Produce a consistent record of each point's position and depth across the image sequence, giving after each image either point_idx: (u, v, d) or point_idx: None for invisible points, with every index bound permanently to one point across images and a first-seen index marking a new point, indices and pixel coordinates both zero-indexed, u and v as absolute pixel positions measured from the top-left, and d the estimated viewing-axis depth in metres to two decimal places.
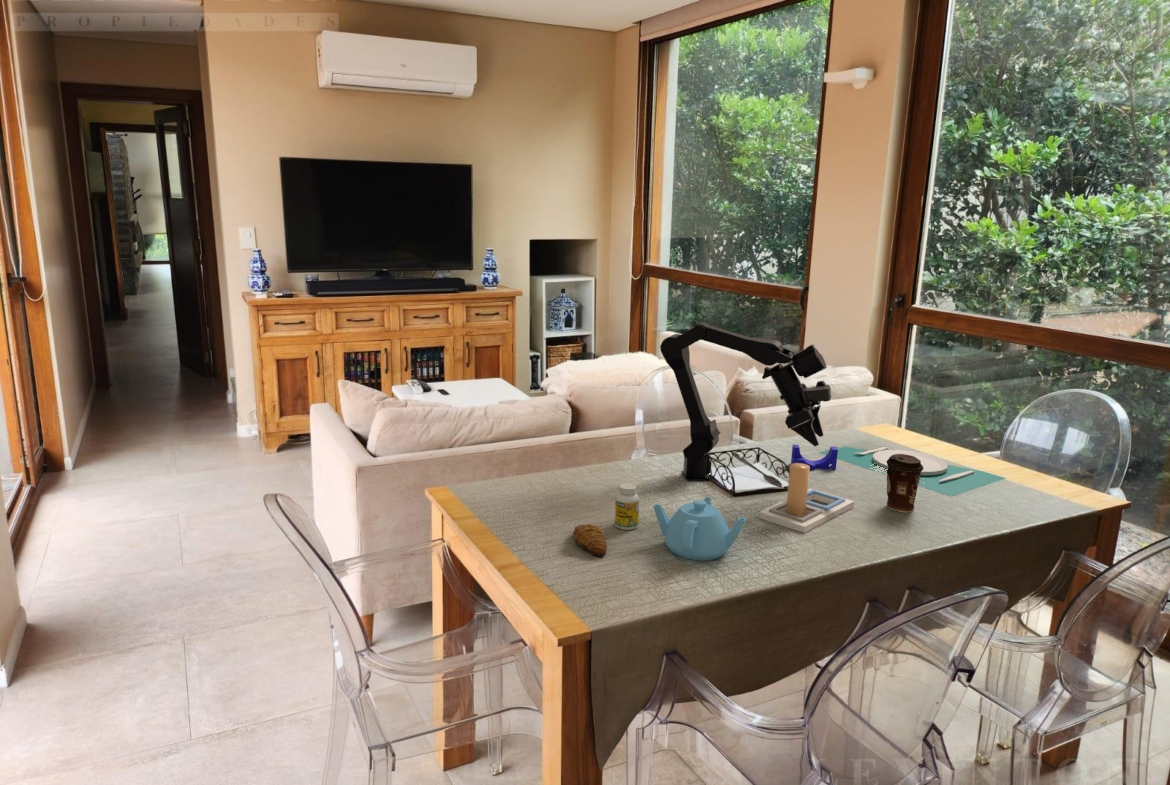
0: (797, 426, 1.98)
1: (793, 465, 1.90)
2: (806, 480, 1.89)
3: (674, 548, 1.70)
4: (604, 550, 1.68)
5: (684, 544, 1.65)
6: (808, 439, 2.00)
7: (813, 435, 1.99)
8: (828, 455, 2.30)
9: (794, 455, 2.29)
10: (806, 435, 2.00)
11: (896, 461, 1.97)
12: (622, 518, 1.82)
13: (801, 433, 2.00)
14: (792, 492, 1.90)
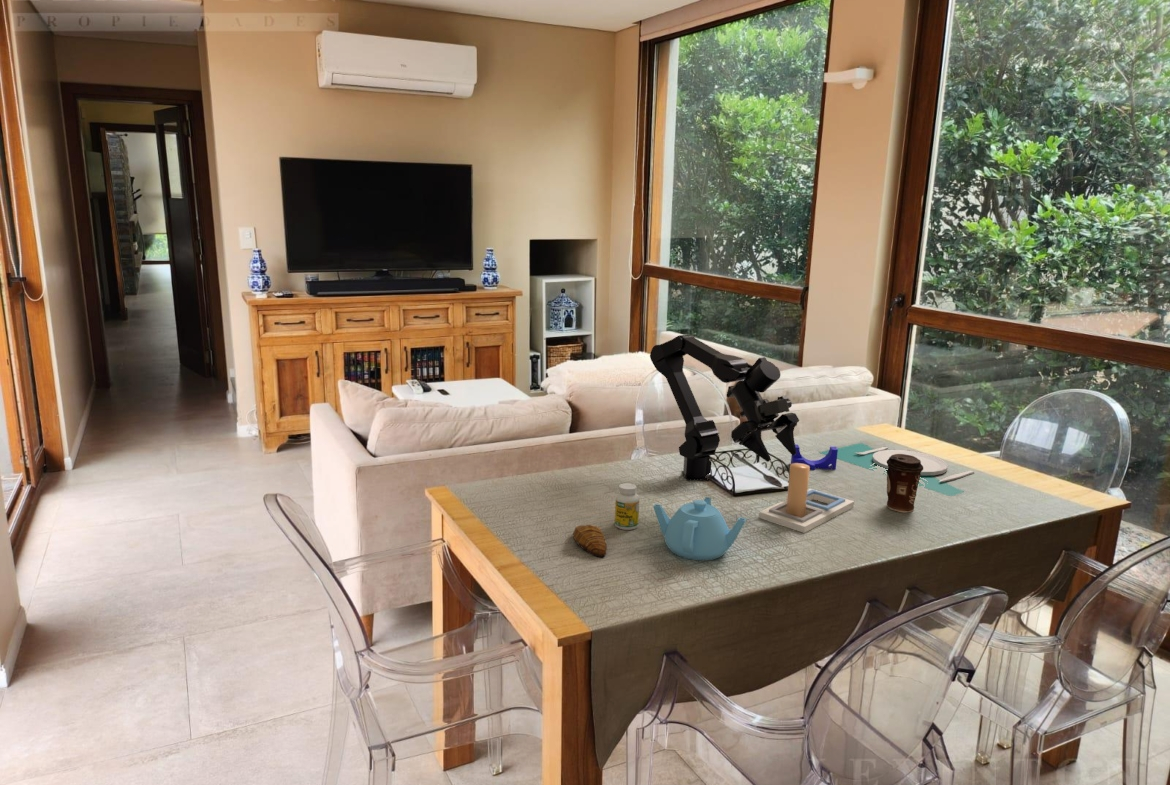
0: (742, 440, 1.93)
1: (793, 465, 1.90)
2: (806, 480, 1.89)
3: (674, 548, 1.70)
4: (604, 551, 1.68)
5: (684, 544, 1.65)
6: (759, 454, 1.92)
7: (762, 449, 1.91)
8: (828, 455, 2.30)
9: (794, 455, 2.30)
10: (756, 450, 1.93)
11: (896, 461, 1.97)
12: (622, 518, 1.82)
13: (751, 448, 1.93)
14: (792, 492, 1.90)
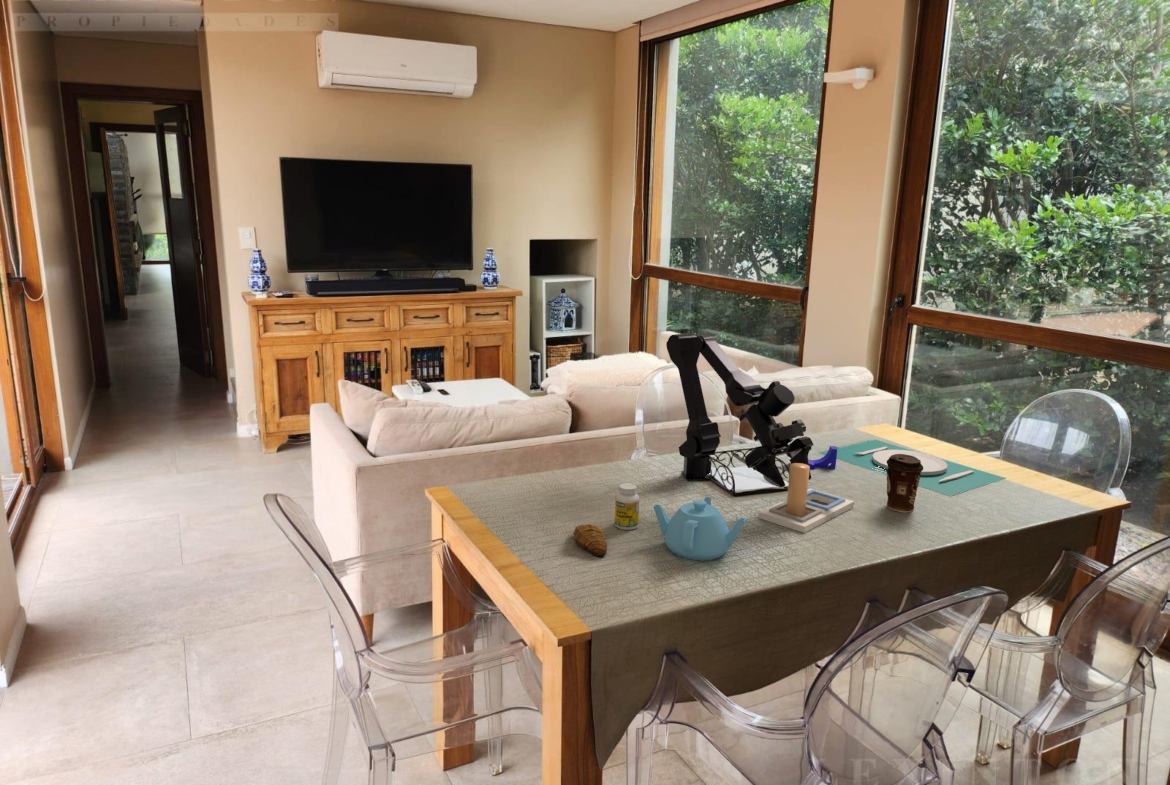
0: (756, 465, 1.90)
1: (793, 465, 1.90)
2: (806, 480, 1.89)
3: (674, 548, 1.70)
4: (604, 550, 1.68)
5: (684, 544, 1.65)
6: (773, 479, 1.90)
7: (776, 475, 1.89)
8: (827, 455, 2.31)
9: None
10: (771, 475, 1.90)
11: (896, 461, 1.97)
12: (623, 518, 1.82)
13: (765, 473, 1.90)
14: (792, 492, 1.90)
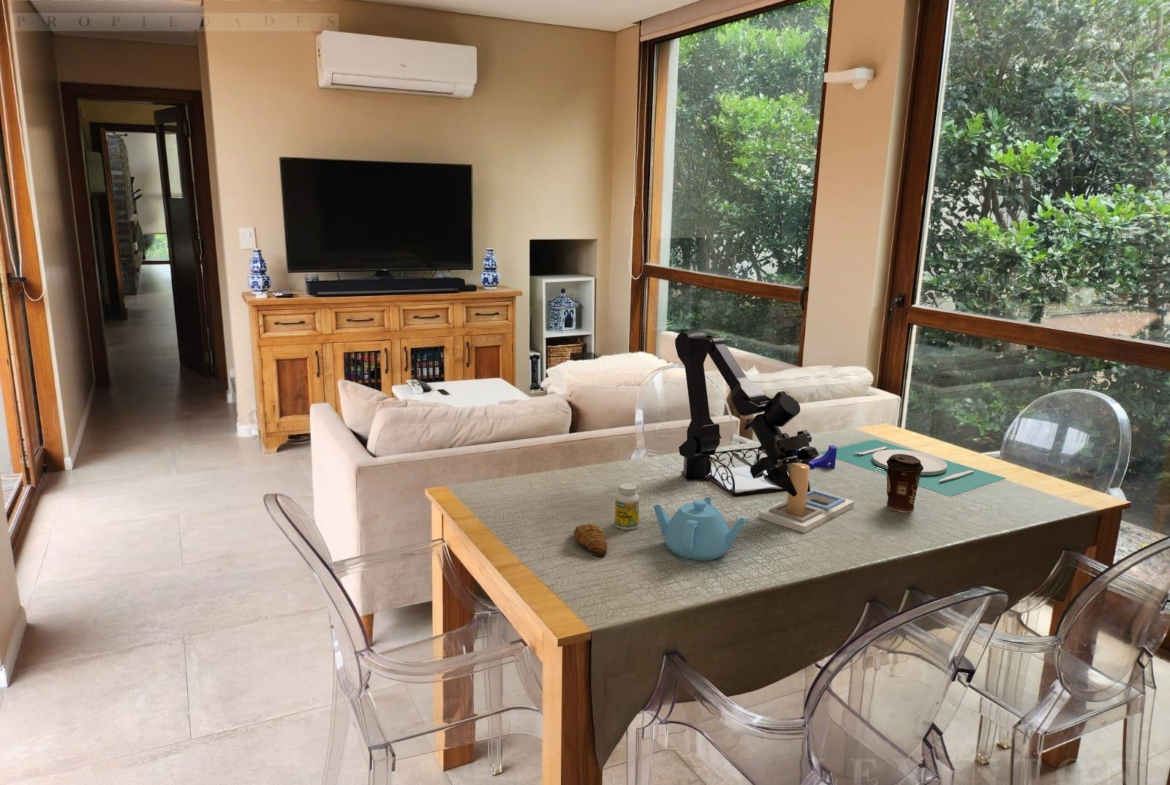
0: (768, 474, 1.90)
1: (793, 465, 1.90)
2: (806, 480, 1.89)
3: (674, 548, 1.70)
4: (605, 550, 1.68)
5: (684, 544, 1.65)
6: (785, 489, 1.90)
7: (788, 484, 1.89)
8: (827, 454, 2.31)
9: (793, 454, 2.30)
10: (782, 484, 1.90)
11: (896, 461, 1.97)
12: (622, 518, 1.82)
13: (777, 482, 1.91)
14: None
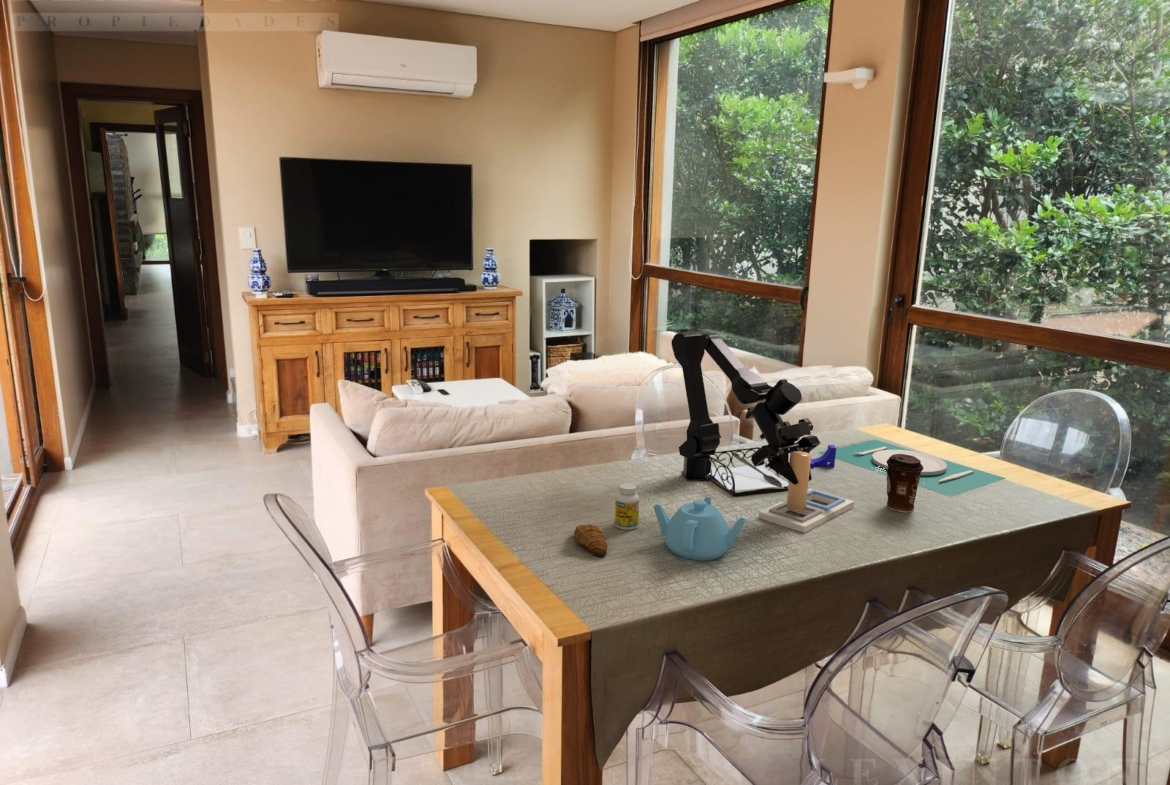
0: (769, 462, 1.90)
1: (794, 453, 1.89)
2: (807, 468, 1.88)
3: (674, 548, 1.70)
4: (605, 550, 1.68)
5: (684, 544, 1.65)
6: (786, 477, 1.89)
7: (789, 472, 1.88)
8: (826, 453, 2.32)
9: None
10: (784, 472, 1.89)
11: (896, 461, 1.97)
12: (622, 518, 1.82)
13: (778, 470, 1.90)
14: None
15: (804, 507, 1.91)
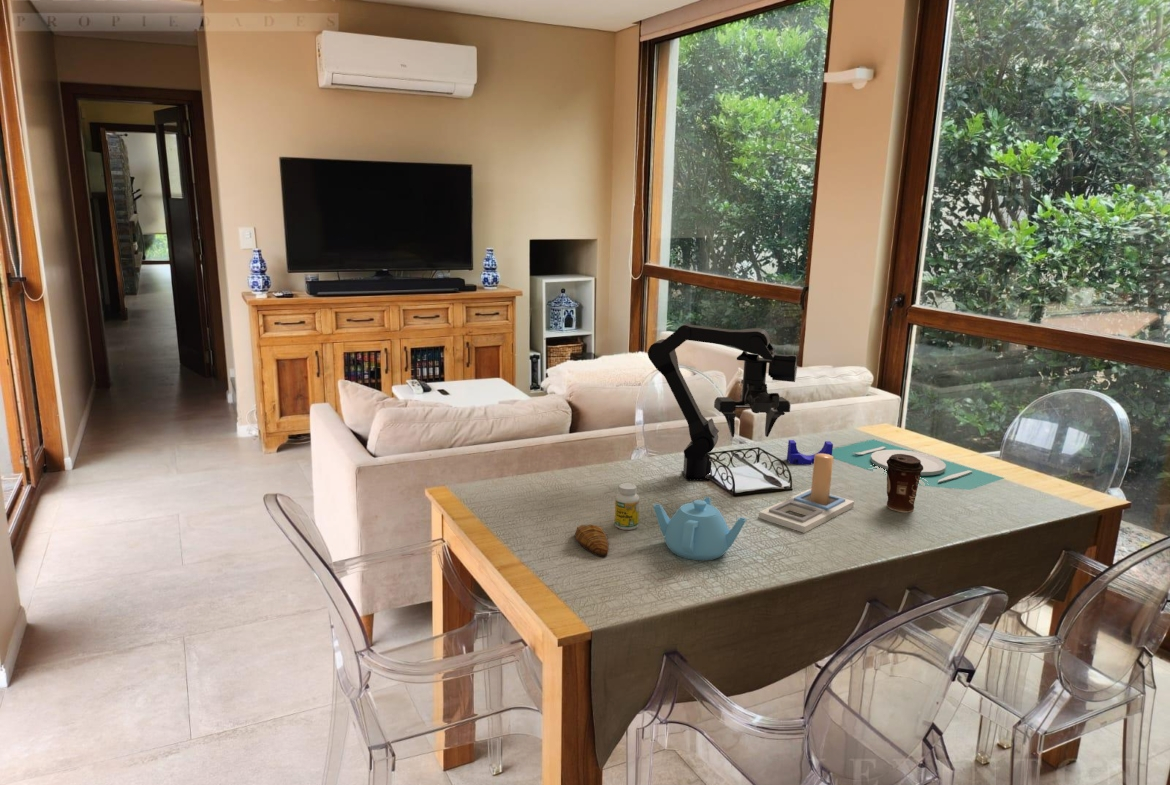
0: None
1: (817, 456, 1.98)
2: (831, 469, 1.97)
3: (674, 548, 1.69)
4: (606, 550, 1.69)
5: (684, 544, 1.65)
6: None
7: (730, 427, 2.10)
8: (823, 450, 2.35)
9: (791, 450, 2.34)
10: (728, 423, 2.11)
11: (896, 461, 1.97)
12: (622, 518, 1.82)
13: (726, 418, 2.12)
14: (820, 482, 1.97)
15: None
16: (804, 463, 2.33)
